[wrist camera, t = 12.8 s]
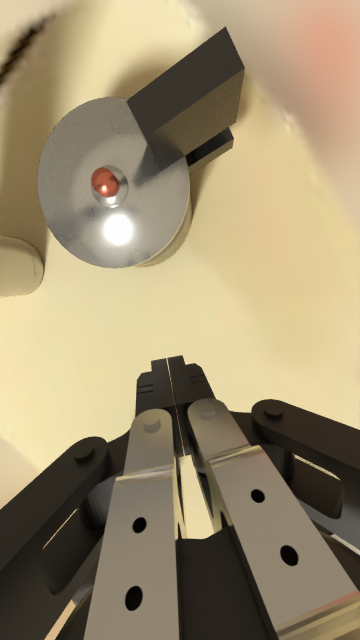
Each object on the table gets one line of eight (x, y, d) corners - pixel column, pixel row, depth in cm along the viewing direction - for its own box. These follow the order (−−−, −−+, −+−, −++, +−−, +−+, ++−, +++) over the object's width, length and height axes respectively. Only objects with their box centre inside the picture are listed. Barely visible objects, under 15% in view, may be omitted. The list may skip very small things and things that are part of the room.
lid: (91, 294, 30) (54, 300, 23) (14, 162, 28) (-51, 124, 21) (265, 191, 25) (286, 158, 18) (187, 28, 24) (178, -76, 17)
